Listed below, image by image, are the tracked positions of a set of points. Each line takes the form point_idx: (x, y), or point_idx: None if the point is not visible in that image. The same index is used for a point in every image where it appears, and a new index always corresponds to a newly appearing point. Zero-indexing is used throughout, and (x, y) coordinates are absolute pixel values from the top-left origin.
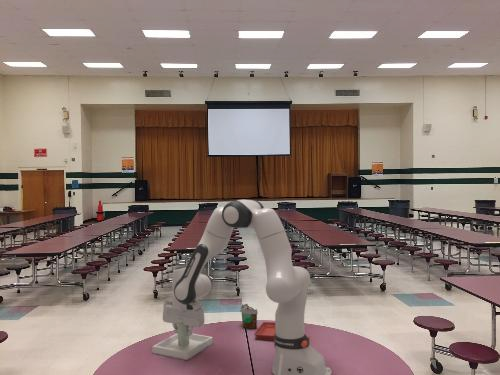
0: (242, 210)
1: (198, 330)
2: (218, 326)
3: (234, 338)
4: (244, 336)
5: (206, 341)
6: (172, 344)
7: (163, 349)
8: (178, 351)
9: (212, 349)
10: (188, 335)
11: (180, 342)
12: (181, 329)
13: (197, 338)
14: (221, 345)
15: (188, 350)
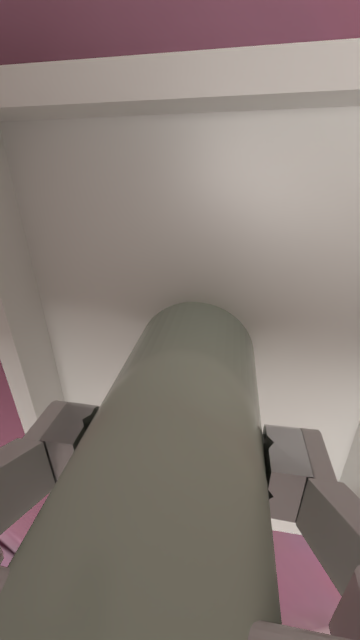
0: None
1: (281, 583)
2: None
3: (27, 520)
4: (8, 541)
5: (25, 423)
6: (338, 356)
7: (320, 46)
8: (38, 65)
9: (3, 377)
10: (80, 404)
11: (188, 319)
12: (114, 449)
13: None
14: (9, 439)
15: (109, 287)
